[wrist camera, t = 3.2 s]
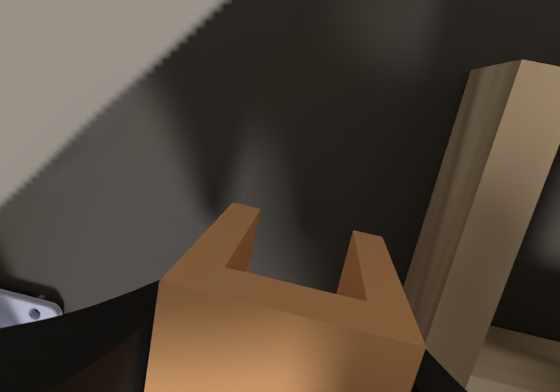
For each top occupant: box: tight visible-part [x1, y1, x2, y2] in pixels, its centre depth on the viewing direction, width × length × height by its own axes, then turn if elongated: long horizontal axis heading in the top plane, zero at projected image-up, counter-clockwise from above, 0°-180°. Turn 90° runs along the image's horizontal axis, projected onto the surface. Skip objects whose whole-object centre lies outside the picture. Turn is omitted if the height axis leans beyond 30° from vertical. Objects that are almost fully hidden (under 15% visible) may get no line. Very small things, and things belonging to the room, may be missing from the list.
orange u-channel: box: [144, 203, 426, 392], centre depth 9 cm, size 4×5×5 cm
